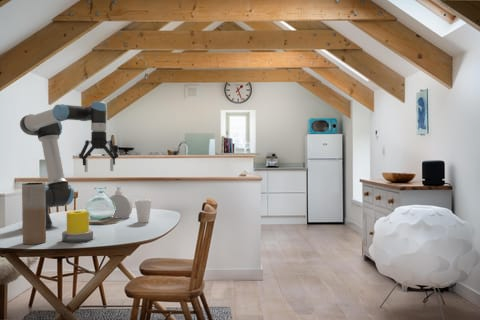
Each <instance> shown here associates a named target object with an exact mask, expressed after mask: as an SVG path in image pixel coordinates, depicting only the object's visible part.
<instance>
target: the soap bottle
mask: <svg viewBox="0 0 480 320" xmlns="http://www.w3.org/2000/svg"><path fill="white" fill-rule="evenodd" d="M109 198H110V199H111V200H112V201H113V202H114V203H115V206H116V210H115V213H114V215H113V217H118V218H117V219H127V218H129V217H130V216H131V214H132V213H133V212H132V211H133V203H132V200H131V199H130V198H129V196H128V195H126V194H123V191H122V190H121V185H118V186H116V191H115V192H114V194H113V195H111V196H110V197H109Z"/></svg>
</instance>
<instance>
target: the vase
mask: <svg viewBox="0 0 480 320" xmlns="http://www.w3.org/2000/svg"><path fill="white" fill-rule="evenodd" d="M45 185H46V182H23V183H21V208H22V210H21V216H22V217H21V218H22V219H21V221H22V222H21V223H22V225H23V229H22V244H23V245H28V246H29V245H30V246H34V245H40V244H41V245H42V244H44V243H46V241H47V229H46V199H45ZM22 225H21V226H22Z"/></svg>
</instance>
